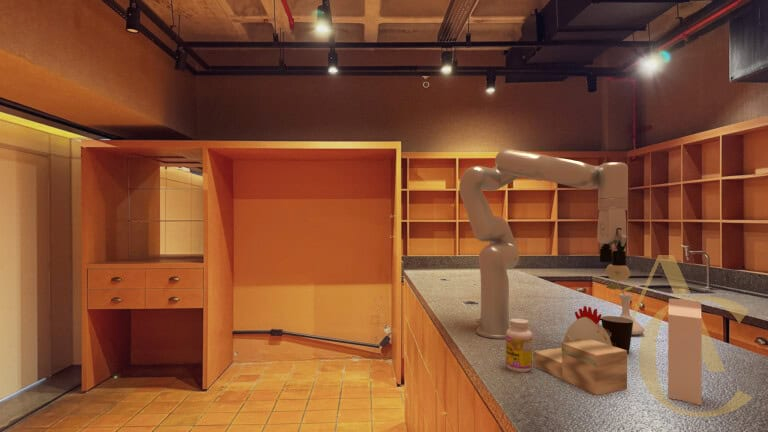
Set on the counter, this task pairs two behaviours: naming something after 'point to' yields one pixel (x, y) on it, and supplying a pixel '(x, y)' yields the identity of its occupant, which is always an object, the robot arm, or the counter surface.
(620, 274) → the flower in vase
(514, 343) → the supplement bottle
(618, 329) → the coffee mug
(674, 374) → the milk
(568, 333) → the kitchen timer
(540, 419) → the counter surface
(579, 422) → the counter surface
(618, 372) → the stand
